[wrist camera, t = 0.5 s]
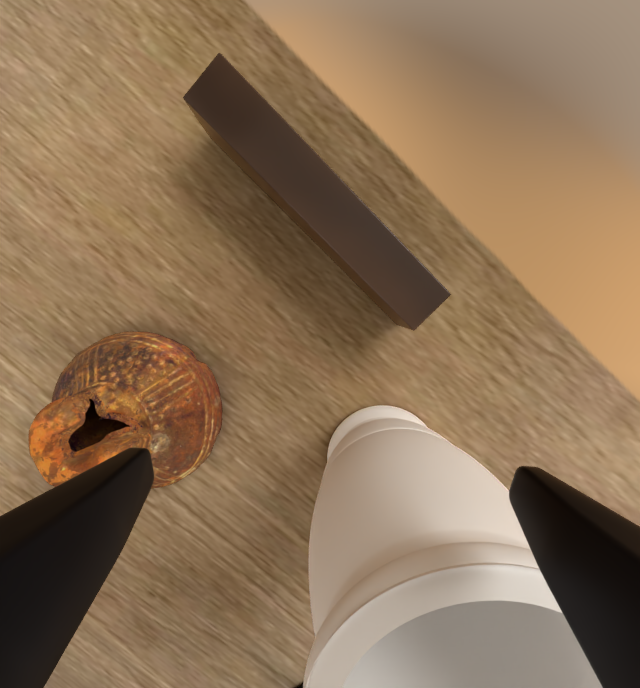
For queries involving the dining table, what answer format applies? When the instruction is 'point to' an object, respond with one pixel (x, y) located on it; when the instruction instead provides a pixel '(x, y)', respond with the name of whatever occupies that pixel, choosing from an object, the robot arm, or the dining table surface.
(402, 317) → the bar
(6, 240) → the dining table surface
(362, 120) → the dining table surface
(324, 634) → the jar
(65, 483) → the robot arm
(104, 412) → the brown clay pot
